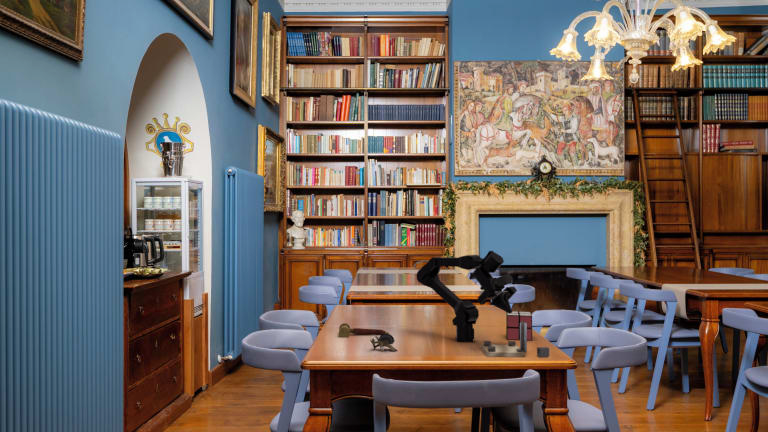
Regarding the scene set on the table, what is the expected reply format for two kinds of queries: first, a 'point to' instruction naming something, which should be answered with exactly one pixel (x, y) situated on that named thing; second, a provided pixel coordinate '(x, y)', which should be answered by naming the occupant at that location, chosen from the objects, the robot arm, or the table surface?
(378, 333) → the gavel
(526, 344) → the folding leg
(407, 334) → the table surface
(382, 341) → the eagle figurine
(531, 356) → the table surface
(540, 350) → the corner bracket
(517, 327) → the puzzle cube
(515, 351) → the stool seat
